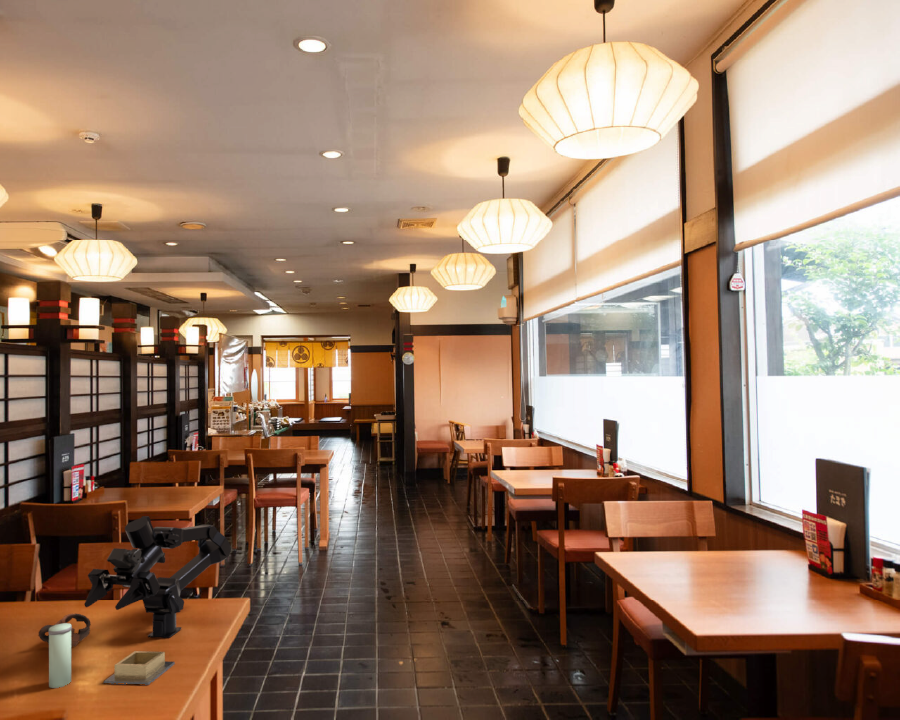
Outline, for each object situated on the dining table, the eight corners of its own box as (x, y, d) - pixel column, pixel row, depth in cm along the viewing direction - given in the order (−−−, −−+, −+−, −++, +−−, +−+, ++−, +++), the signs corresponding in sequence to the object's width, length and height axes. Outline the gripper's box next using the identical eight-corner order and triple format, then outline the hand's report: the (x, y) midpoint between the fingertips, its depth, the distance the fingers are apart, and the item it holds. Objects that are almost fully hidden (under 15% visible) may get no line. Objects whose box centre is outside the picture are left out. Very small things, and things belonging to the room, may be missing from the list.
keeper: (132, 663, 157) (132, 648, 157) (174, 664, 156) (174, 649, 156) (103, 683, 146) (103, 667, 146) (148, 685, 145) (148, 669, 145)
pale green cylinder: (58, 678, 150) (58, 622, 150) (76, 679, 149) (76, 623, 150) (43, 688, 145) (43, 630, 145) (62, 688, 144) (62, 630, 145)
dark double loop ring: (76, 634, 178) (88, 609, 178) (84, 658, 172) (98, 632, 172) (29, 637, 169) (42, 610, 169) (36, 662, 163) (50, 635, 163)
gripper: (102, 536, 168) (57, 580, 154) (161, 539, 163) (120, 584, 149) (117, 569, 172) (74, 613, 159) (175, 572, 167) (136, 619, 154)
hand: (100, 607), depth 155 cm, fingers open, 9 cm apart
